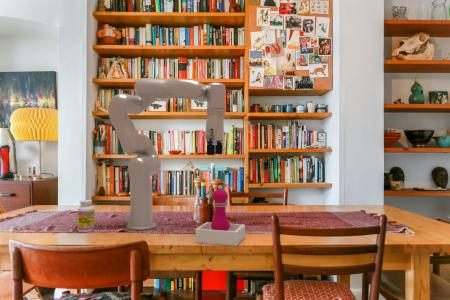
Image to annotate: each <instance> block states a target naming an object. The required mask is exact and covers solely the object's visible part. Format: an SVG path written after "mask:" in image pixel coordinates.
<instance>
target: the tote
mask: <svg viewBox="0 0 450 300" xmlns="http://www.w3.org/2000/svg"><path fill="white" fill-rule="evenodd" d="M211 223H212V221H210V222H209V221H206V222H205V223H203V224H202V225H200V226H198V227H197V228H195V232H194V233H195V234H194V236H195V240H194V242H195V244H197V243H198V244H207V245H208V244H209V245H220V246H221V245H222V246H233V247H237V246H238V245H239V244H240V243H241V242H242V241H243V240H244V239H245V238H246V224H241V223H229V224H230V227H229V229H228V230H227V231H222V230H212V228H211Z"/></svg>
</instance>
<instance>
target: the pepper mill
mask: <svg viewBox="0 0 450 300" xmlns="http://www.w3.org/2000/svg"><path fill="white" fill-rule="evenodd" d="M228 197H229V195H228V192H227V191H226V190H224V189H223V185H221V184H220V185H218V186H217V189H216V190H214V191H213V193H212V200H213V206H214V215H213V218H212V220H211V222H212V223H211V228H212V230H222V231H227V230H228V229H229V227H230V224H231V223H230V221H229V219H228V215H227V214H226V213H227V212H226V207H227V206H228V205H227V204H228V203H227V200H228Z"/></svg>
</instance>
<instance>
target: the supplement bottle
mask: <svg viewBox="0 0 450 300" xmlns="http://www.w3.org/2000/svg"><path fill="white" fill-rule="evenodd" d="M79 204H80V206H78V208H77V232H79V233H91V232H93V231H95V207H94V206H93V205H92V204H93V200H92V199H83V200H80V201H79Z"/></svg>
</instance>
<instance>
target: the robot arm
mask: <svg viewBox="0 0 450 300" xmlns="http://www.w3.org/2000/svg"><path fill="white" fill-rule="evenodd" d="M133 89H134V92H135V95H131V94H127V93H119V94H116V95H114V96H113V97H112V98H111V99H110V100H109V102H108V106H107V112H108V113H107V114H108V116H109V120H110V122H111V124H112V126H113V128H114V130H115V133H116V135H117V137H118V140H119V143H120V145H121V147H122V150H123V152H124V153H125V154H126V155H129V156H131V155H132V156H135V157H133V158H132V159H130V161H129V163H128V166H127V171H128V176H129V186H130V187H129V193H130V196H129V199H130V204H129V205H130V206H129V207H130V209H129V211H130V216H124V217H123V219H122V220H123V222H126V223H127V222H128V223H127V224H126V229H127V230H132V231H133V230H134V231H143V230H151V229H154V228H156V226H157V223H156V222H153V183H152V179H151V177H152V176H156V175H157V174H158V173H159V172H160V170H161V167H162V164H161V161H160V158H159V157H160V156H159V155H158V153H157V150H156V148H155V146H154V144H153V141H152V139H150V137H149V136H147V135H146V134H141V133H140V134H139V132H138V130H137V129H136V127H135V124H134V121H132V119H131V118H130V116H129V115H134V116H135V115H139V114H141V113H143V112H144V111H145V110H146V109H148V108H149V107H150V106H151V105H153V104H154V103H155V102H156V101H157V100H165V101H169V100H171V99H185V100H186V99H187V100H193V101H195V102H199V103H204V102H206V123H205V133H204V134H205V135H204V136H205V137H204V138H205V140H206V156H214V155H223V153H224V152H223V151H224V150H223V149H224V135H225V134H224V133H225V128H224V127H225V126H224V125H225V123H224V118H225V117H226V85H225V84H224V83H221V82H210V83H208V84H204V83H201V82H199V81H196V80H191V79H190V80H189V79H188V80H187V79H162V78H161V79H159V78H150V77H149V78H147V77H145V78H144V77H142V78H139V79H137V80H136V81H135V83H134V87H133ZM128 114H129V115H128Z"/></svg>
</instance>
